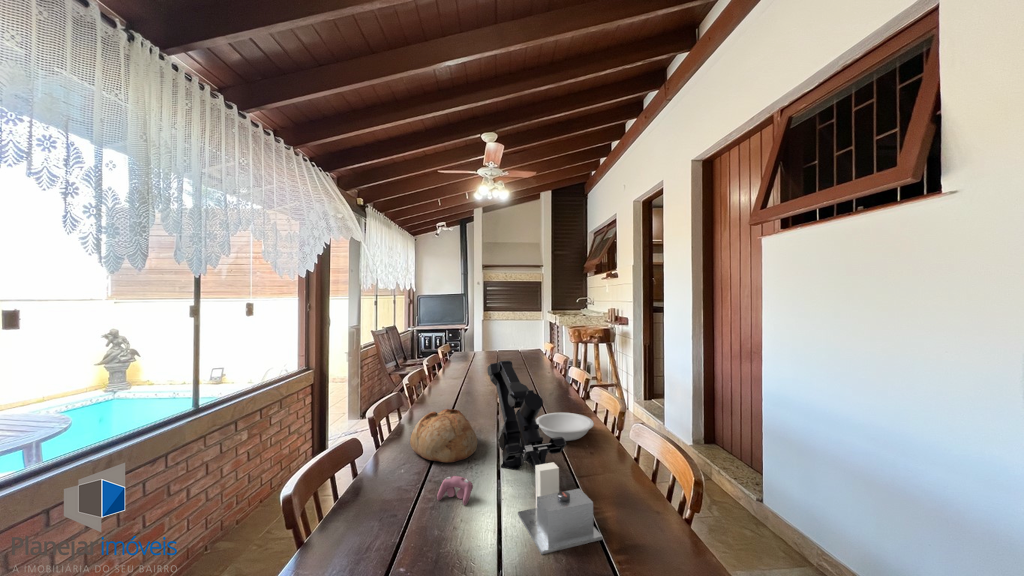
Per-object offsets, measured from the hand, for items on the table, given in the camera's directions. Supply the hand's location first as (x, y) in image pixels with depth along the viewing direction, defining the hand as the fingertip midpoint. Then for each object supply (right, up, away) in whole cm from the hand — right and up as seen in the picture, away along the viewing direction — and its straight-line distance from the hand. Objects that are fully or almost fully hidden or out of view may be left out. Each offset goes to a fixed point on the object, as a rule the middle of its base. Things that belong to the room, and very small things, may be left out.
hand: (542, 478), depth 106 cm
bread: (-34, -9, +38) cm, 52 cm away
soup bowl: (+13, -9, +50) cm, 53 cm away
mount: (+3, -8, -9) cm, 12 cm away
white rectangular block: (+2, -7, -6) cm, 9 cm away
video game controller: (-25, -8, +4) cm, 27 cm away
